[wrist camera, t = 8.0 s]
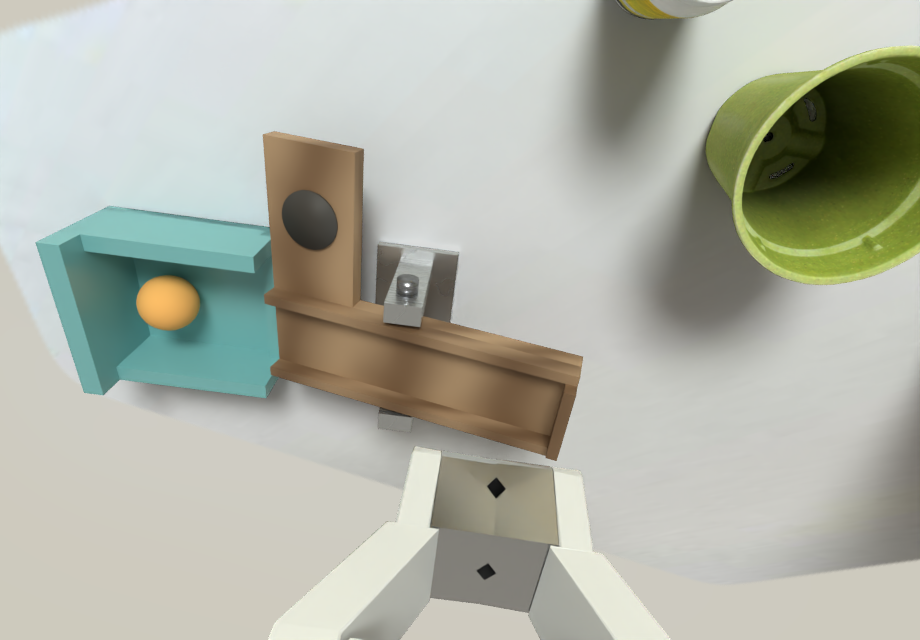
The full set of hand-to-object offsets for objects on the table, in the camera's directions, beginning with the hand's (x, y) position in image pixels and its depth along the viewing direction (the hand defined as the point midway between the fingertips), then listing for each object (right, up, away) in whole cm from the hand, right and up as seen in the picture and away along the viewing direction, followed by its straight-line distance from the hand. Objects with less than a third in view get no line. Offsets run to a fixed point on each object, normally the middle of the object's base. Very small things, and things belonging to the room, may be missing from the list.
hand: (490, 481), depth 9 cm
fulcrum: (-4, +3, +25) cm, 26 cm away
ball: (-19, +4, +23) cm, 30 cm away
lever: (-2, +4, +19) cm, 20 cm away
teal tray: (-18, +5, +25) cm, 31 cm away
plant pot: (+16, +13, +19) cm, 28 cm away
